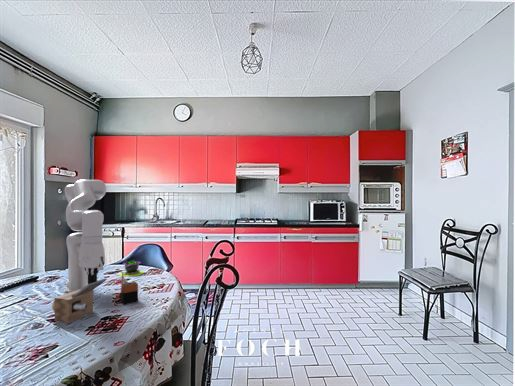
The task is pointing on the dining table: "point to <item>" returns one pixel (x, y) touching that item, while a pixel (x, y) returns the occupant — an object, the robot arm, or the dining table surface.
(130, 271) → the toy cauldron
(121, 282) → the tow hook
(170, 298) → the dining table surface
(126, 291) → the battery
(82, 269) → the robot arm
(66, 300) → the block
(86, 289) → the grey flat plate
